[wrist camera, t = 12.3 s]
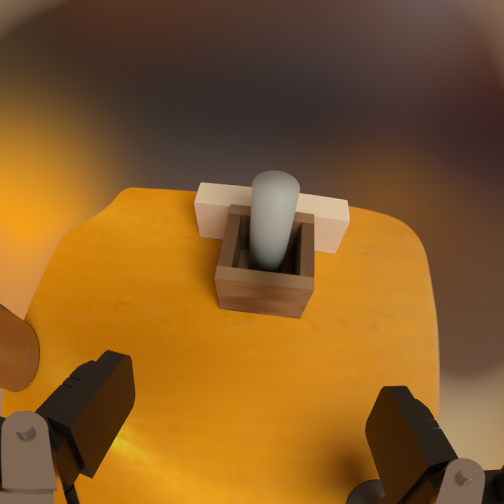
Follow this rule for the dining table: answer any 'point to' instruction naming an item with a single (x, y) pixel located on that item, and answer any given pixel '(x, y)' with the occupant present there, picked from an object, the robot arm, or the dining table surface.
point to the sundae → (368, 494)
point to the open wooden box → (259, 282)
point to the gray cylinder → (271, 219)
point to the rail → (222, 196)
